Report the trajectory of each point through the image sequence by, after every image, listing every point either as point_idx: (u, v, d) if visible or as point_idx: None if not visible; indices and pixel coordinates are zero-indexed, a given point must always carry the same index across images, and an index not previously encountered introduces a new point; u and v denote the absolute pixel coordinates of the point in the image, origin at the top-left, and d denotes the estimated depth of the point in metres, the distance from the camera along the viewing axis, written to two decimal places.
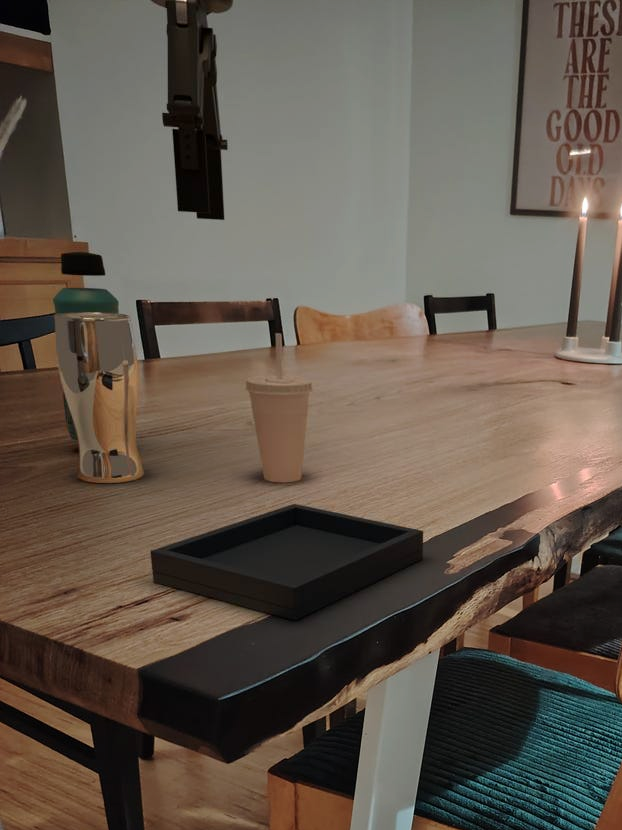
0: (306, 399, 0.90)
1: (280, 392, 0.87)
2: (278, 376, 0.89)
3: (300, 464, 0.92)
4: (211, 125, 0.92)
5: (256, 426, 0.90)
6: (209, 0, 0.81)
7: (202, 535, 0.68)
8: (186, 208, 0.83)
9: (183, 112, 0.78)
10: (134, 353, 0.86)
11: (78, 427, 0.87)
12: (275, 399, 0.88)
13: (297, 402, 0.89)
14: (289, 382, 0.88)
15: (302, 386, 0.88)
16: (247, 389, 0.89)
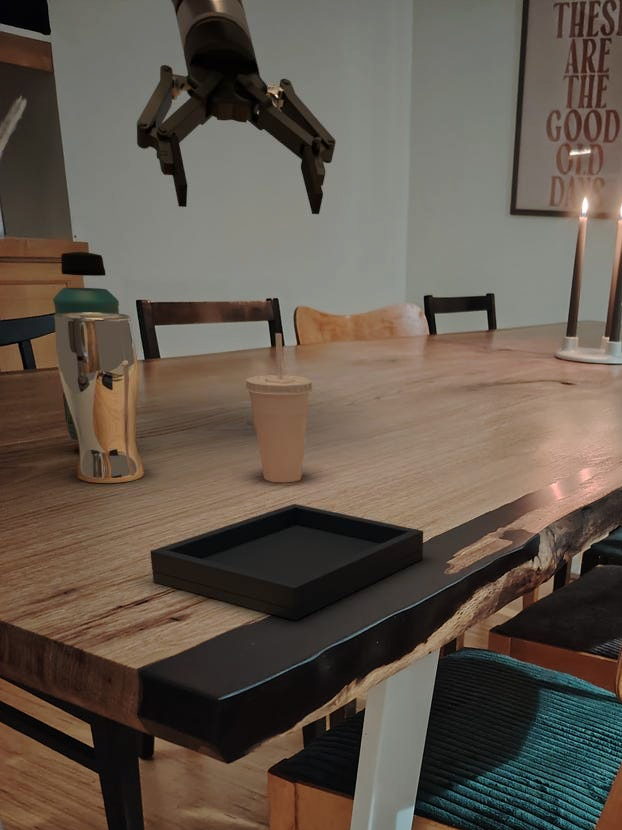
0: (306, 399, 0.90)
1: (280, 392, 0.87)
2: (278, 376, 0.89)
3: (300, 464, 0.92)
4: (180, 138, 0.95)
5: (256, 426, 0.90)
6: None
7: (202, 535, 0.68)
8: (321, 198, 0.97)
9: (333, 152, 1.00)
10: (134, 353, 0.86)
11: (78, 427, 0.87)
12: (275, 399, 0.88)
13: (297, 402, 0.89)
14: (289, 382, 0.88)
15: (302, 386, 0.88)
16: (247, 389, 0.89)
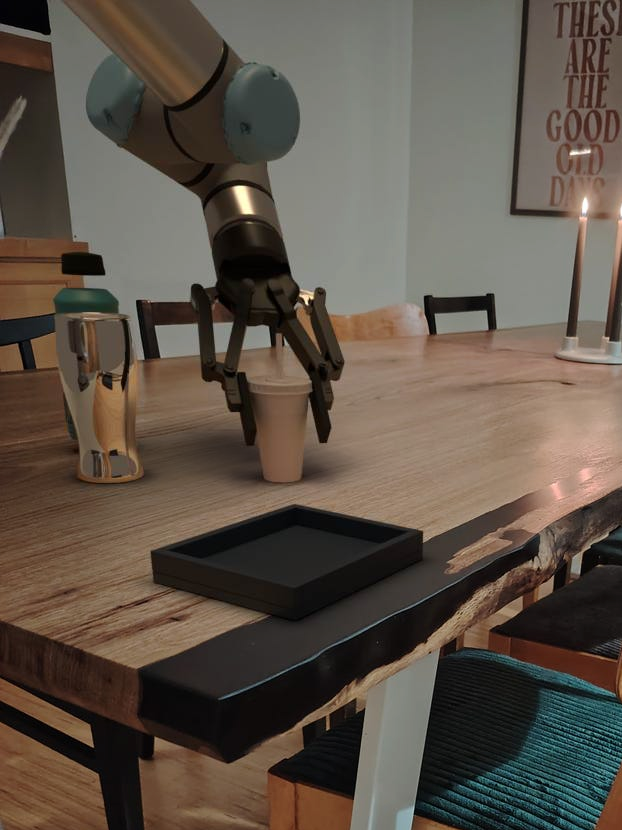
0: (306, 399, 0.90)
1: (280, 392, 0.87)
2: (278, 376, 0.89)
3: (300, 464, 0.92)
4: (238, 363, 0.91)
5: (256, 426, 0.90)
6: None
7: (202, 535, 0.68)
8: None
9: (341, 371, 0.93)
10: (134, 353, 0.86)
11: (78, 427, 0.87)
12: (275, 399, 0.88)
13: (297, 402, 0.89)
14: (289, 382, 0.88)
15: (302, 386, 0.88)
16: None
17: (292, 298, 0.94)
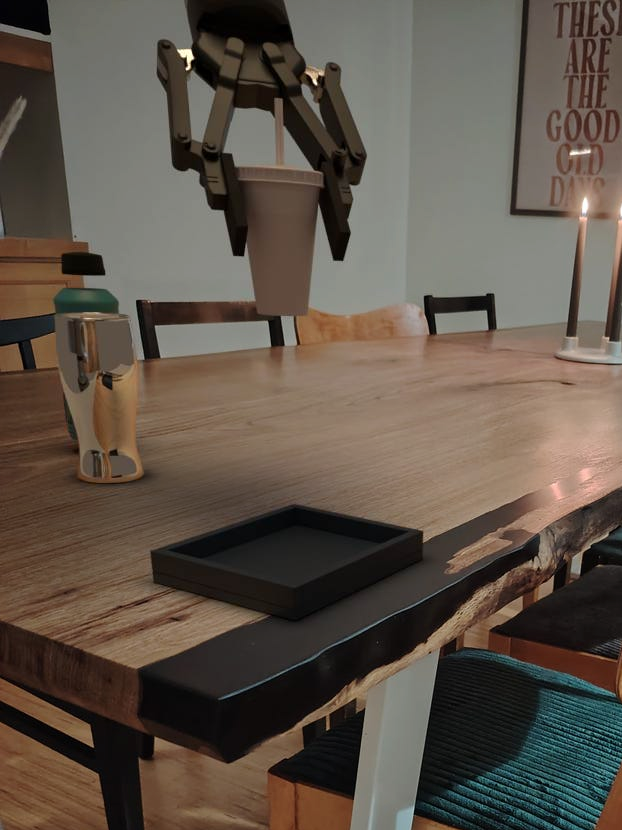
0: (316, 197, 0.66)
1: (281, 179, 0.63)
2: (278, 162, 0.65)
3: (306, 293, 0.68)
4: (223, 149, 0.66)
5: (247, 234, 0.66)
6: None
7: (202, 535, 0.68)
8: None
9: (362, 171, 0.69)
10: (134, 353, 0.86)
11: (78, 427, 0.87)
12: (273, 190, 0.63)
13: (304, 198, 0.64)
14: None
15: (311, 175, 0.64)
16: None
17: (296, 72, 0.69)
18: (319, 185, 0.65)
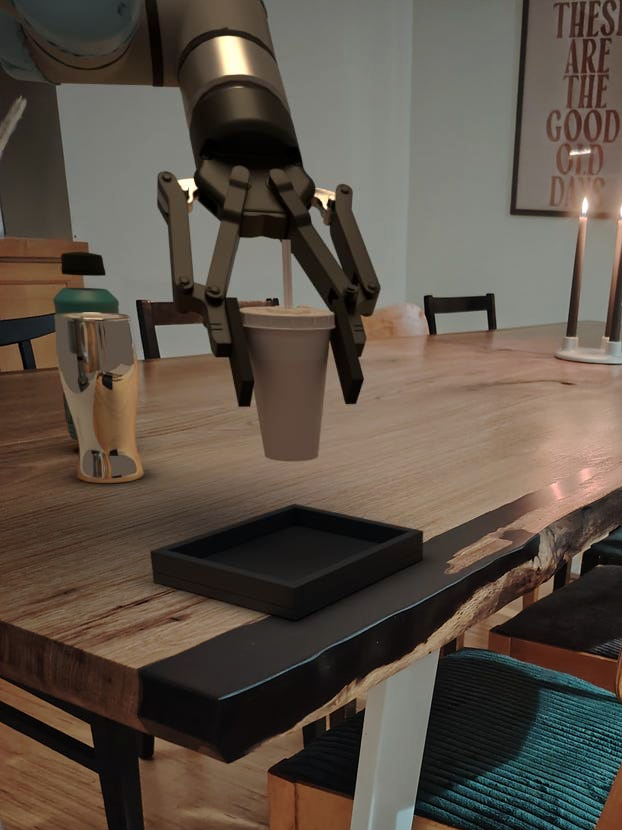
0: (326, 339, 0.61)
1: (289, 326, 0.59)
2: (286, 304, 0.60)
3: (317, 435, 0.64)
4: (227, 287, 0.62)
5: None
6: None
7: (202, 535, 0.68)
8: None
9: (376, 302, 0.65)
10: (134, 353, 0.86)
11: (78, 427, 0.87)
12: (281, 337, 0.59)
13: (314, 342, 0.60)
14: (302, 313, 0.60)
15: (322, 319, 0.60)
16: None
17: (305, 198, 0.65)
18: (330, 328, 0.61)
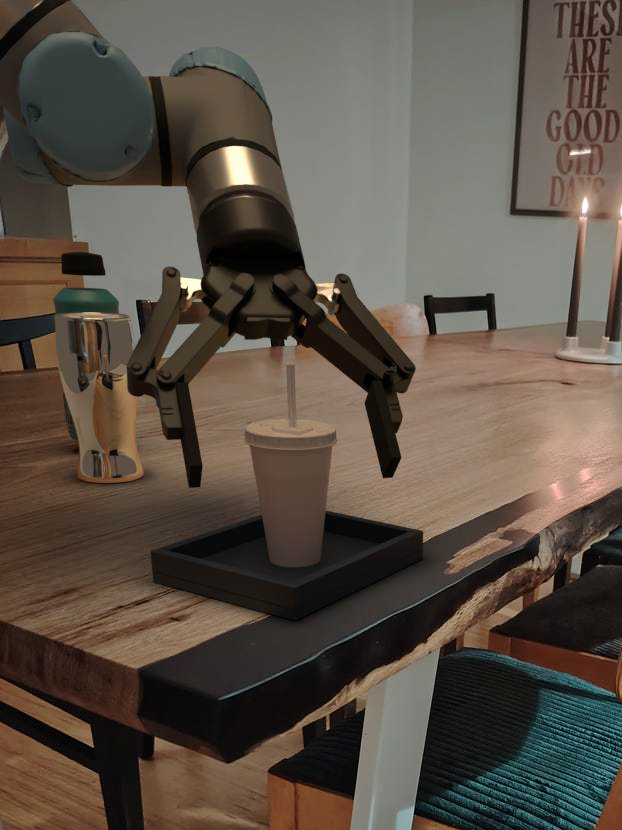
0: (329, 454, 0.65)
1: (293, 447, 0.62)
2: (290, 423, 0.64)
3: (319, 542, 0.67)
4: (191, 376, 0.64)
5: (259, 491, 0.65)
6: None
7: (202, 535, 0.68)
8: None
9: (410, 381, 0.70)
10: None
11: (78, 427, 0.87)
12: (286, 456, 0.62)
13: (316, 459, 0.63)
14: (305, 432, 0.63)
15: (324, 437, 0.63)
16: (246, 441, 0.63)
17: (314, 299, 0.68)
18: (332, 444, 0.64)
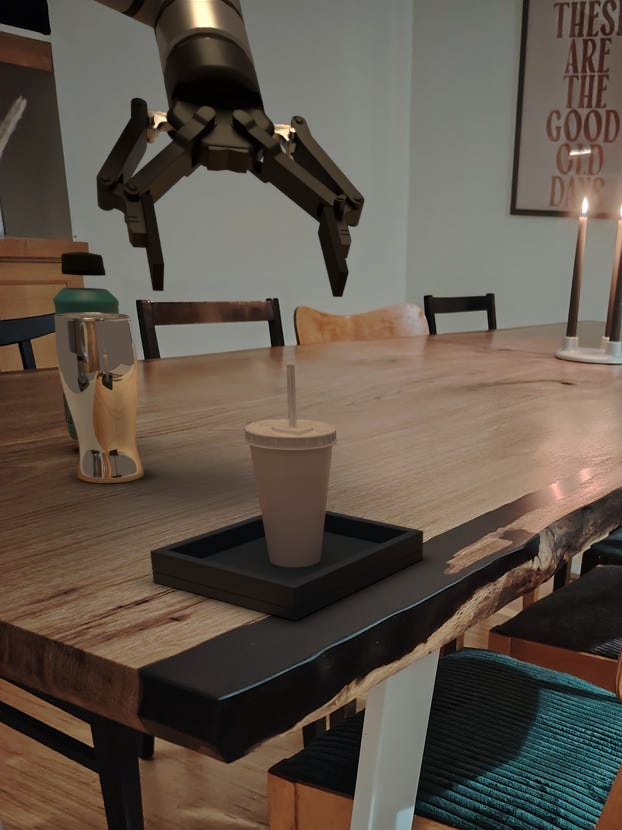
0: (329, 454, 0.65)
1: (293, 447, 0.62)
2: (290, 423, 0.64)
3: (319, 542, 0.67)
4: (156, 196, 0.71)
5: (259, 491, 0.65)
6: None
7: (202, 535, 0.68)
8: None
9: (360, 214, 0.76)
10: (134, 353, 0.86)
11: (78, 427, 0.87)
12: (286, 456, 0.62)
13: (316, 459, 0.63)
14: (305, 432, 0.63)
15: (324, 437, 0.63)
16: (246, 441, 0.63)
17: (271, 136, 0.75)
18: (332, 444, 0.64)
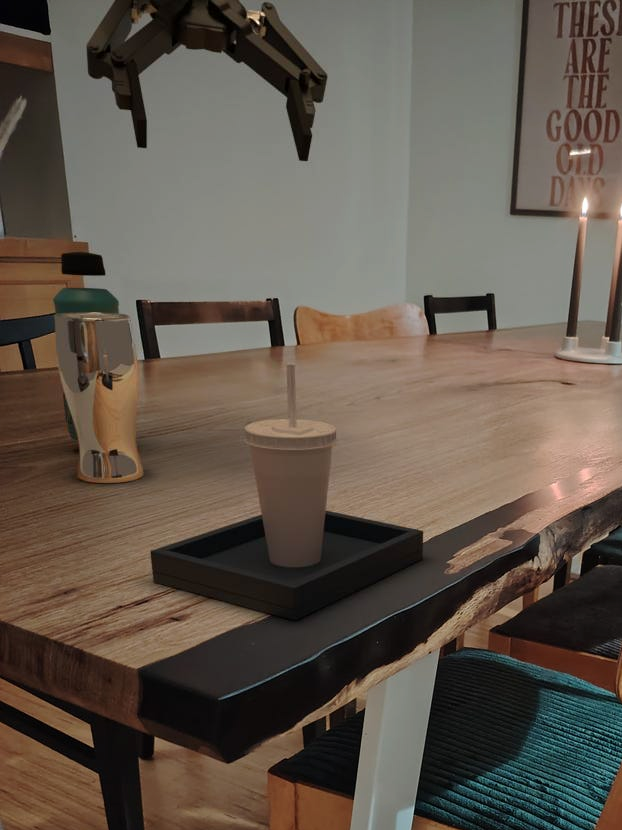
0: (329, 454, 0.65)
1: (293, 447, 0.62)
2: (290, 423, 0.64)
3: (319, 542, 0.67)
4: (140, 68, 0.79)
5: (259, 491, 0.65)
6: None
7: (202, 535, 0.68)
8: (310, 140, 0.81)
9: (324, 90, 0.85)
10: (134, 353, 0.86)
11: (78, 427, 0.87)
12: (286, 456, 0.62)
13: (316, 459, 0.63)
14: (305, 432, 0.63)
15: (324, 438, 0.63)
16: (246, 441, 0.63)
17: None
18: (332, 444, 0.64)
